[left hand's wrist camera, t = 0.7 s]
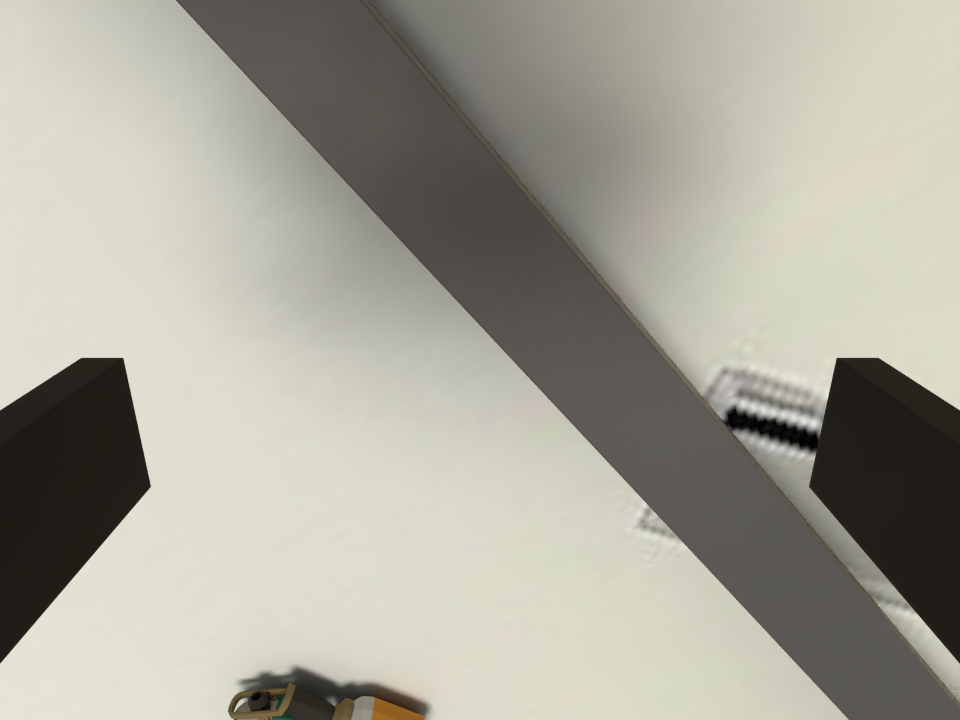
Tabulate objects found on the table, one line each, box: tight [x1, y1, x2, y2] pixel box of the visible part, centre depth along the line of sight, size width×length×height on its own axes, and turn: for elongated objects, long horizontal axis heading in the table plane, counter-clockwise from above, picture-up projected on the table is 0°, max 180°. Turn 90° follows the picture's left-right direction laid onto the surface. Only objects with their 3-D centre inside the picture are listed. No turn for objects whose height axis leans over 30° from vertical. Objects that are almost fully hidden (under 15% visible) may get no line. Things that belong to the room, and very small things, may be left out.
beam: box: [176, 0, 960, 720], centre depth 34 cm, size 79×5×8 cm, turn 42°
